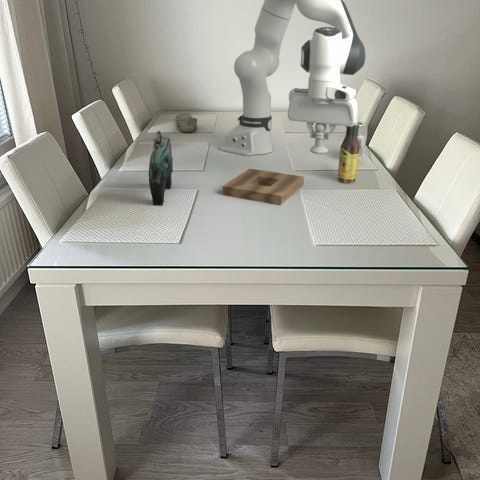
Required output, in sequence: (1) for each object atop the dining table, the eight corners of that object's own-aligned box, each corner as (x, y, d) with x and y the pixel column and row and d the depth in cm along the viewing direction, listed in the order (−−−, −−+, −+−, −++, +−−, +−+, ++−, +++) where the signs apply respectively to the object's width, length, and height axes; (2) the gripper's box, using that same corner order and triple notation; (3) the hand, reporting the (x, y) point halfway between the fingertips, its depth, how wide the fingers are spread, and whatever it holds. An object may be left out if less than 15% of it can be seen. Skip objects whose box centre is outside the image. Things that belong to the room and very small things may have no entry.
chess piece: (326, 155, 145) (328, 124, 141) (308, 153, 146) (310, 123, 142) (329, 150, 149) (332, 120, 145) (312, 148, 151) (314, 119, 147)
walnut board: (222, 195, 157) (222, 186, 156) (249, 176, 173) (249, 168, 172) (280, 205, 149) (281, 195, 148) (303, 185, 165) (303, 176, 164)
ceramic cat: (159, 184, 167) (154, 125, 158) (178, 184, 167) (174, 125, 158) (147, 206, 149) (141, 141, 140) (168, 206, 149) (164, 141, 140)
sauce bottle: (335, 178, 171) (340, 120, 163) (352, 177, 172) (358, 120, 163) (340, 184, 165) (345, 125, 157) (358, 184, 166) (364, 125, 157)
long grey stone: (193, 120, 262) (174, 122, 261) (192, 110, 260) (173, 112, 259) (200, 132, 231) (179, 134, 229) (199, 120, 228) (177, 123, 227)
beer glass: (364, 166, 184) (368, 125, 177) (345, 165, 185) (348, 125, 179) (363, 160, 190) (368, 121, 183) (345, 159, 191) (349, 120, 185)
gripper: (285, 89, 142) (283, 136, 148) (356, 94, 133) (351, 144, 139) (293, 85, 147) (291, 132, 153) (361, 90, 138) (356, 139, 145)
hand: (320, 138), depth 146 cm, fingers closed on chess piece, 3 cm apart
